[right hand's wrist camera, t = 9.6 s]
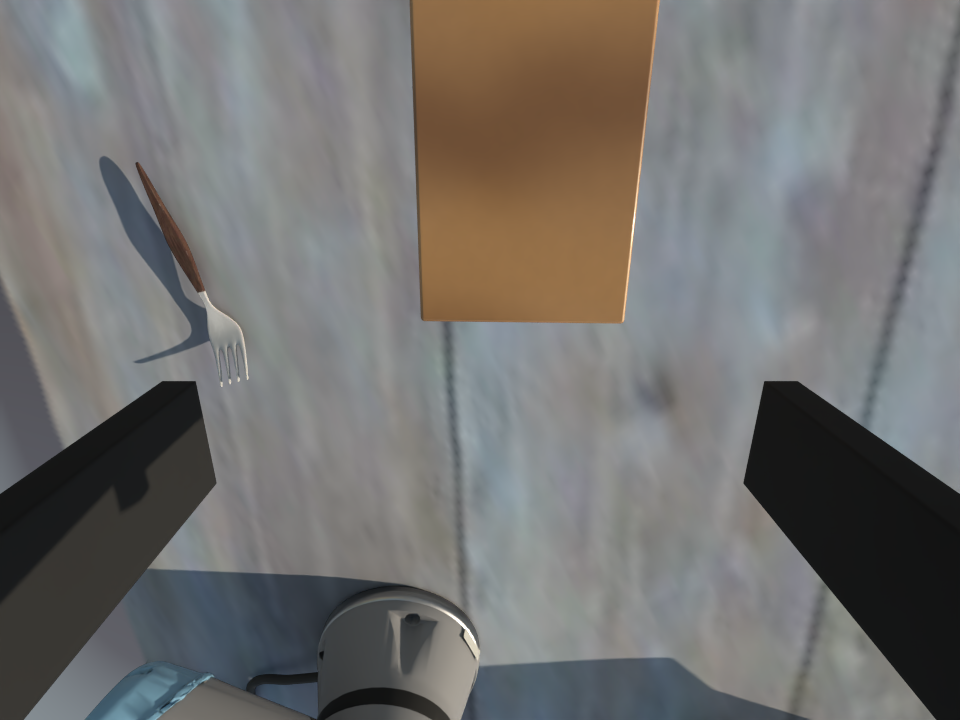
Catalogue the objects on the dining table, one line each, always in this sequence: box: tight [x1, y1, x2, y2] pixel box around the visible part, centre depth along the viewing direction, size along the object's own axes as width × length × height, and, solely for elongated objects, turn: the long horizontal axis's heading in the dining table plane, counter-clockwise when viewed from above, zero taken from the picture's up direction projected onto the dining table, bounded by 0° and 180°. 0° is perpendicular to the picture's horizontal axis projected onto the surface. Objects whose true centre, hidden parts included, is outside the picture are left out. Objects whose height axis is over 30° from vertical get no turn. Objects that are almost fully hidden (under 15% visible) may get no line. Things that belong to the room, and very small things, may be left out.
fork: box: [136, 162, 248, 387], centre depth 37 cm, size 3×16×2 cm, turn 16°
